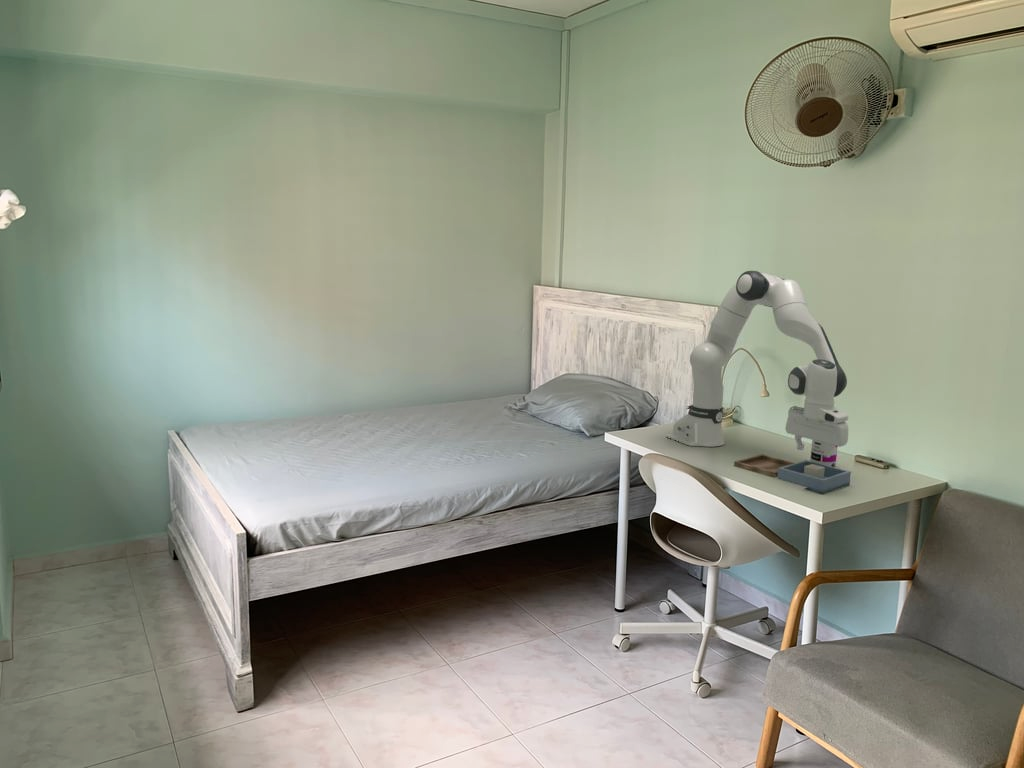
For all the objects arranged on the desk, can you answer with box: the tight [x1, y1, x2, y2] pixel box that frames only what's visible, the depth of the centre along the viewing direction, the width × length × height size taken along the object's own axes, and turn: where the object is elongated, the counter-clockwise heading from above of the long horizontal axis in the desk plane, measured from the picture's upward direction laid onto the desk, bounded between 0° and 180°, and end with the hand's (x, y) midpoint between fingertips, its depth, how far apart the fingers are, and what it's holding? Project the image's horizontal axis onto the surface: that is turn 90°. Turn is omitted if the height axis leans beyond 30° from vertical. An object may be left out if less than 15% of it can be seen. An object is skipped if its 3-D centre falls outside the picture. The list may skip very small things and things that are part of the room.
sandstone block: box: [804, 464, 825, 479], centre depth 257 cm, size 4×4×4 cm
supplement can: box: [809, 439, 839, 468], centre depth 273 cm, size 8×8×15 cm
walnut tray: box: [733, 454, 795, 479], centre depth 270 cm, size 16×16×2 cm
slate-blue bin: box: [776, 459, 852, 495], centre depth 257 cm, size 16×16×4 cm
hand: (813, 453), depth 255 cm, fingers open, 8 cm apart
